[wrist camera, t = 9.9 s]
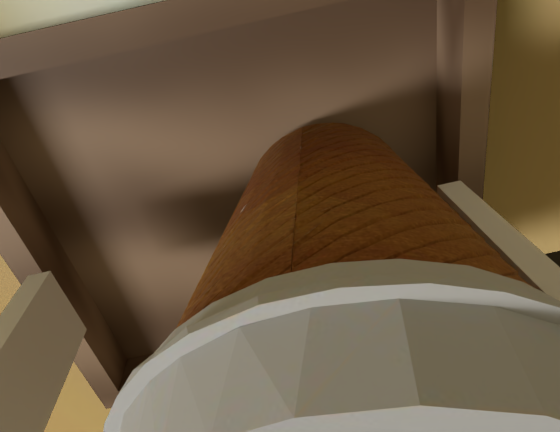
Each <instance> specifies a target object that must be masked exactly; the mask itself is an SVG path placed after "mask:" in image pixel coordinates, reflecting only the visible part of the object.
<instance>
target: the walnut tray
mask: <svg viewBox="0 0 560 432" xmlns="http://www.w3.org/2000/svg"><path fill="white" fill-rule="evenodd" d="M496 12H497V0H166V1H162V2H157V3H153V4H148V5H144V6H140V7H135V8H131V9H126V10H122V11H118V12H113V13H109V14H104V15H100V16H96V17H91V18H87V19H82V20H78V21H74V22H69V23H65V24H61V25H56V26H52V27H47V28H43V29H39V30H34V31H30V32H25V33H21V34H17V35H12V36H8V37H3V38H0V255H1V256H2V257H3V259H4V260H5V262H6V263H7V265H8V266H9V268H10V269H11V271H12V272H13V273H14V275H15V276H16V278H17V279H18V281H19V282H20V284H21V285H22V283H23V282H24V280H25V279H26V277H27V276H29V275H34V274H38V273H43V272H47V271H51V273H52V274H53V276H54V278H55V279H56V281H57V282H58V284H59V286H60V287H61V289H62V290H63V292H64V294H65V295H66V297H67V298H68V300H69V302H70V303H71V305H72V306H73V308H74V310H75V311H76V313H77V314H78V316H79V318H80V319H81V321H82V322H83V324H84V326H85V327H86V329H87V330H86V332H85V335H84V337H83V340H82V342H81V344H80V347H79V349H78V351H77V354H76V356H75V359H74V362H75V364H76V365H77V367H78V368H79V370H80V371H81V373H82V374H83V376H84V377H85V378H86V380H87V381H88V383H89V384H90V386H91V387H92V389H93V390H94V392H95V393H96V394H97V396H98V397H99V399H100V400H101V402H102V403H103V405H104V406H105V408H106V409H107V408H112V406H113V404H114V402H115V399H116V397H117V395H118V394H119V392H120V390H121V389H122V387H123V386H124V384H125V382H126V381H127V379H128V377H129V376H130V374H131V373H132V371H133V370H134V369H135V368H136V367H137V366H139V365H140V364H141V363H142V362H144V361H145V360H146V359H147V358H148V357H150V356H151V355H152V354H153V353H154V352H155V351H156V350H157V349H158V348H159V347H160V345H161V344H162V343H163V342H164V341H165V340H166V339H167V338H168V336H169V335H170V334H171V333H172V332H173V331H174V330H175V329H176V327H177V325H178V323H179V321H180V319H181V317H182V315H183V313H184V311H185V309H186V307H187V305H188V303H189V301H190V299H191V297H192V295H193V293H194V291H195V289H196V287H197V285H198V283H199V281H200V279H201V277H202V275H203V273H204V271H205V269H206V267H207V265H208V263H209V261H210V259H211V257H212V255H213V253H214V251H215V249H216V247H217V245H218V243H219V240H220V238H221V237H222V235H223V233H224V230H225V228H226V226H227V224H228V223H229V220H230V218H231V216H232V215H233V213H234V211H235V209H236V207H237V205H238V203H239V201H240V199H241V197H242V195H243V193H244V191H245V189H246V187H247V185H248V183H249V181H250V179H251V177H252V175H253V172H254V170H255V168H256V166H257V164H258V162H259V161H260V159H261V157H262V156H263V155H264V154H265V152H266V151H267V150H268V149H269V148H270V147H271V146H272V145H273V144H274V143H275V142H277V141H278V140H279V139H281V138H282V137H284V136H285V135H287V134H289V133H291V132H293V131H295V130H297V129H299V128H301V127H305V126H309V125H313V124H320V123H331V122H334V123H345V124H348V125H352V126H356V127H360V128H363V129H364V130H366V131H368V132H370V133H372V134H374V135H376V136H378V137H379V138H381V139H382V140H383V141H384V142H385V143H386V144H387V145H389V146H390V148H391V149H392V150H393V151H394V152H395V153H396V154H397V155H398V156H399V157H400V158H401V159H402V160H403V161H404V162H405V163H407V164H408V166H409V167H410V168H411V169H413V170H414V171H415V173H416V174H417V175H419V176H420V177H421V178H422V180H424V181H425V182H426V183H427V184H429V186H430V188H431V189H433V190H434V191H435V192H436V193H437V185H442V184H446V183H451V182H455V181H462V182H463V183H464V184H465V185H466V186H467V187H468V188H470V189H471V190H472V191H473V192H474V193H475V194H476V195H478V196H479V197H480V198H481V199H482V200H483V188H484V174H485V161H486V147H487V134H488V120H489V107H490V93H491V80H492V66H493V53H494V39H495V26H496Z"/></svg>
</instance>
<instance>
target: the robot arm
mask: <svg viewBox="0 0 560 432" xmlns="http://www.w3.org/2000/svg"><path fill="white" fill-rule="evenodd" d="M437 194H439V196H440V197H441V198H442V199H443V200H444V201H445V202H446V203H448V204H449V206H450V207H451V208H452V209H453V210H455V211H456V212H457V213H458V214H459V216H460V217H461V218H462V219H463V220H465V221H466V222H467V223H468V224H470V225H471V228H472V229H473V230H474V231H475V232H477V233H478V234H479V235H480V236H482V237H483V238H484V239H485V242H486V243H487V244H488V245H490V246H491V247H492V248H493V249H495V250H496V251H497V252H498V253H500V256H501V258H502V259H503V260H504V261H506V262H507V263H508V264H509V265H511V266H512V267H513V268H514V269H516V270H517V271H518V275H519V276H520V277H521V278H523V279H524V280H525V281H526V282H528V283H529V284H530V285H531V286H532V287H534V288H536V289H538V290H540V291H542V292H544V293H546V294H547V295H549V296H551V297H553V298H555V299H557V300H559V301H560V251H557V252H552V253H548V254H544V253H543V252H542V251H541V250H540V249H538V248H537V247H536V246H535V245H534V244H533V243H531V242H530V241H529V240H528V239H527V238H526V237H525V236H523V235H522V234H521V233H520V232H519V231H518V230H517V229H515V228H514V227H513V226H512V225H511V224H510V223H509V222H507V221H506V220H505V219H504V218H503V217H502V216H501V215H499V214H498V213H497V212H496V211H495V210H494V209H493V208H491V207H490V206H489V205H488V204H487V203H486V202H485V201H483V200H482V199H481V198H480V197H479V196H478V195H476V194H475V193H474V192H473V191H472V190H471V189H470V188H468V187H467V186H466V185H465V184H464V183H463V182H462V181H455V182H451V183H446V184H442V185H437ZM86 330H87V329H86V327H85V326H84V324H83V322H82V321H81V319H80V318H79V316H78V314H77V313H76V311H75V310H74V308H73V306H72V305H71V303H70V302H69V300H68V298H67V297H66V295H65V294H64V292H63V290H62V289H61V287H60V286H59V284H58V282H57V281H56V279H55V278H54V276H53V274H52V273H51V271H47V272H43V273H38V274H34V275H29V276H27V277H26V279H25V280H24V282H23V283H22V285H21V286H20V287H19V289H18V290H17V292H16V293H15V295H14V296H13V297H12V299H11V300H10V302H9V303H8V305H7V306H6V307H5V309H4V310H3V312H2V313H1V315H0V432H44V430H45V427H46V425H47V423H48V420H49V418H50V415H51V413H52V411H53V408H54V406H55V404H56V401H57V399H58V396H59V394H60V392H61V389H62V387H63V385H64V382H65V380H66V378H67V375H68V373H69V370H70V368H71V366H72V363H73V361H74V359H75V356H76V354H77V351H78V349H79V347H80V344H81V342H82V340H83V337H84V335H85V332H86Z"/></svg>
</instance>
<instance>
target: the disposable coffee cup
mask: <svg viewBox="0 0 560 432" xmlns="http://www.w3.org/2000/svg"><path fill="white" fill-rule="evenodd" d="M103 432H560V301H559V300H557V299H555V298H553V297H551V296H549V295H547V294H546V293H544V292H542V291H540V290H538V289H536V288H534V287H532V286H531V285H530V284H529V283H528V282H526V281H525V280H524V279H523V278H521V277H520V276H519V275H518V271H517V270H516V269H514V268H513V267H512V266H511V265H509V264H508V263H507V262H506V261H504V260H503V259H502V258H501V256H500V253H498V252H497V251H496V250H495V249H493V248H492V247H491V246H490V245H488V244H487V243H486V242H485V239H484V238H483V237H482V236H480V235H479V234H478V233H477V232H475V231H474V230H473V229H472V228H471V225H470V224H468V223H467V222H466V221H465V220H463V219H462V218H461V217H460V216H459V214H458V213H457V212H456V211H455V210H453V209H452V208H451V207H450V206H449V204H448V203H446V202H445V201H444V200H443V199H442V198H441V197H440V196H439V194H437V193H436V192H435V191H434V190H433V189H431V188H430V186H429V184H427V183H426V182H425V181H424V180H422V178H421V177H420V176H419V175H417V174H416V173H415V171H414V170H413V169H411V168H410V167H409V166H408V164H407V163H405V162H404V161H403V160H402V159H401V158H400V157H399V156H398V155H397V154H396V153H395V152H394V151H393V150H392V149H391V148H390V146H389V145H387V144H386V143H385V142H384V141H383V140H382V139H381V138H379V137H378V136H376V135H374V134H372V133H370V132H368V131H366V130H364V129H363V128H360V127H356V126H352V125H348V124H345V123H334V122H331V123H320V124H313V125H309V126H305V127H301V128H299V129H297V130H295V131H293V132H291V133H289V134H287V135H285V136H284V137H282V138H281V139H279V140H278V141H277V142H275V143H274V144H273V145H272V146H271V147H270V148H269V149H268V150H267V151H266V152H265V154H264V155H263V156H262V157H261V159H260V161H259V162H258V164H257V166H256V168H255V170H254V172H253V175H252V177H251V179H250V181H249V183H248V185H247V187H246V189H245V191H244V193H243V195H242V197H241V199H240V201H239V203H238V205H237V207H236V209H235V211H234V213H233V215H232V216H231V218H230V220H229V223H228V224H227V226H226V228H225V230H224V233H223V235H222V237H221V238H220V240H219V243H218V245H217V247H216V249H215V251H214V253H213V255H212V257H211V259H210V261H209V263H208V265H207V267H206V269H205V271H204V273H203V275H202V277H201V279H200V281H199V283H198V285H197V287H196V289H195V291H194V293H193V295H192V297H191V299H190V301H189V303H188V305H187V307H186V309H185V311H184V313H183V315H182V317H181V319H180V321H179V323H178V325H177V327H176V329H175V330H174V331H173V332H172V333H171V334H170V335H169V336H168V338H167V339H166V340H165V341H164V342H163V343H162V344H161V345H160V347H159V348H158V349H157V350H156V351H155V352H154V353H153V354H152V355H151V356H150V357H148V358H147V359H146V360H145V361H144V362H142V363H141V364H140V365H139V366H137V367H136V368H135V369H134V370H133V371H132V373H131V374H130V376H129V377H128V379H127V381H126V382H125V384H124V386H123V387H122V389H121V390H120V392H119V394H118V395H117V397H116V399H115V402H114V404H113V406H112V408H111V410H110V413H109V415H108V417H107V419H106V422H105V424H104V431H103Z"/></svg>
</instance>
